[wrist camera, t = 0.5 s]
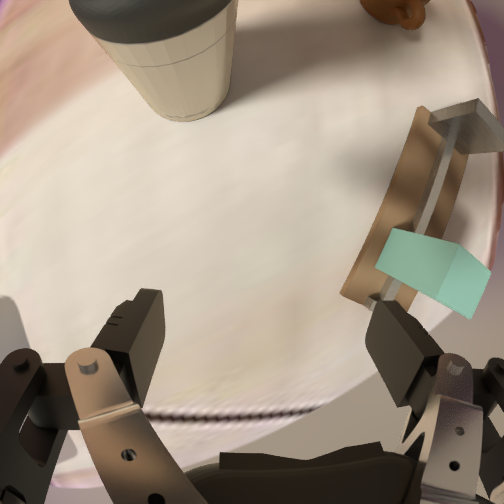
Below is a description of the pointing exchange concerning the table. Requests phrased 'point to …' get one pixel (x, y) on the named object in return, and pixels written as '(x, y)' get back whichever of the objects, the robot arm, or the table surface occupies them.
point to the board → (406, 209)
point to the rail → (465, 142)
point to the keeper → (435, 269)
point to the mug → (397, 11)
